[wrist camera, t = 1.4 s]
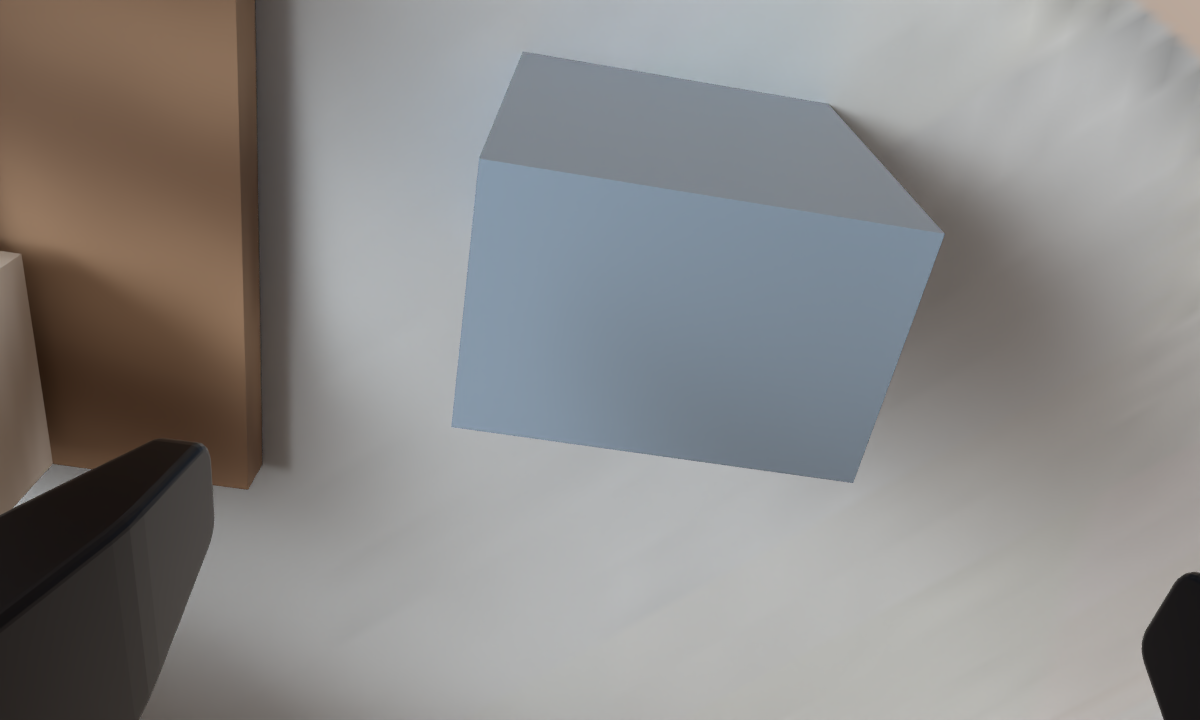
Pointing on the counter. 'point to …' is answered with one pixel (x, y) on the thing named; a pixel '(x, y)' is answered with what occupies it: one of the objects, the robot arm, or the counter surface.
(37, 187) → the wooden block holder
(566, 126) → the block
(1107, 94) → the counter surface
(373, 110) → the counter surface
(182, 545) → the robot arm
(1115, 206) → the counter surface
